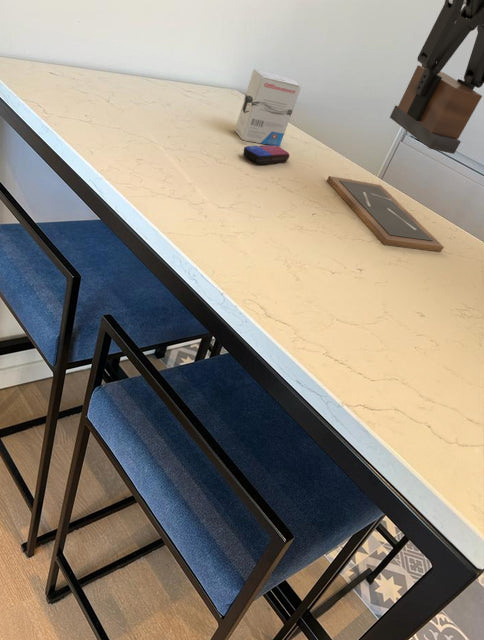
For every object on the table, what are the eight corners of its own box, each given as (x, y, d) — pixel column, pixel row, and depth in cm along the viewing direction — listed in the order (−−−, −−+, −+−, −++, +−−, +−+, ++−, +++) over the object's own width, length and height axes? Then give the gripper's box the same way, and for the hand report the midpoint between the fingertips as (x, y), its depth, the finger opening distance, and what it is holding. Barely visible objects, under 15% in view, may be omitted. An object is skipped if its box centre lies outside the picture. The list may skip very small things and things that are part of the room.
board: (440, 252, 96) (444, 246, 95) (384, 244, 91) (387, 238, 90) (378, 189, 111) (381, 184, 110) (326, 180, 106) (329, 175, 105)
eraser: (275, 152, 110) (278, 143, 109) (291, 162, 108) (294, 153, 107) (238, 154, 102) (241, 145, 101) (254, 165, 100) (258, 155, 99)
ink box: (271, 137, 116) (292, 77, 109) (280, 147, 113) (302, 86, 106) (233, 129, 112) (252, 67, 105) (241, 140, 109) (262, 76, 102)
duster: (455, 154, 88) (486, 98, 83) (428, 148, 86) (459, 90, 80) (413, 123, 96) (440, 70, 91) (388, 117, 94) (414, 62, 89)
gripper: (545, -39, 82) (457, 122, 96) (450, -81, 74) (369, 100, 88) (583, -27, 77) (484, 141, 91) (485, -71, 69) (394, 119, 83)
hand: (428, 120), depth 89 cm, fingers closed on duster, 5 cm apart
